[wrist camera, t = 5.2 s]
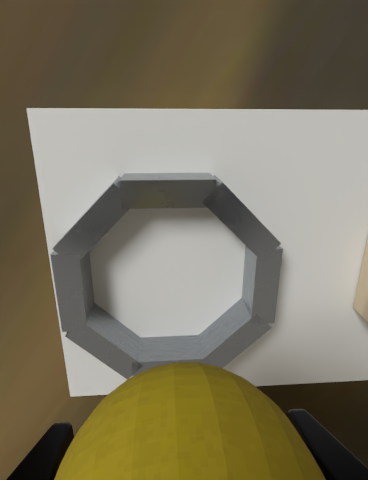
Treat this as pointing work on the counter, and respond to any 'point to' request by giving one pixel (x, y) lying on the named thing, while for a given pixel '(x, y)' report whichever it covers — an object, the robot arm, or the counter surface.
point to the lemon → (188, 431)
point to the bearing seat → (168, 347)
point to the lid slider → (362, 288)
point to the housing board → (218, 229)
